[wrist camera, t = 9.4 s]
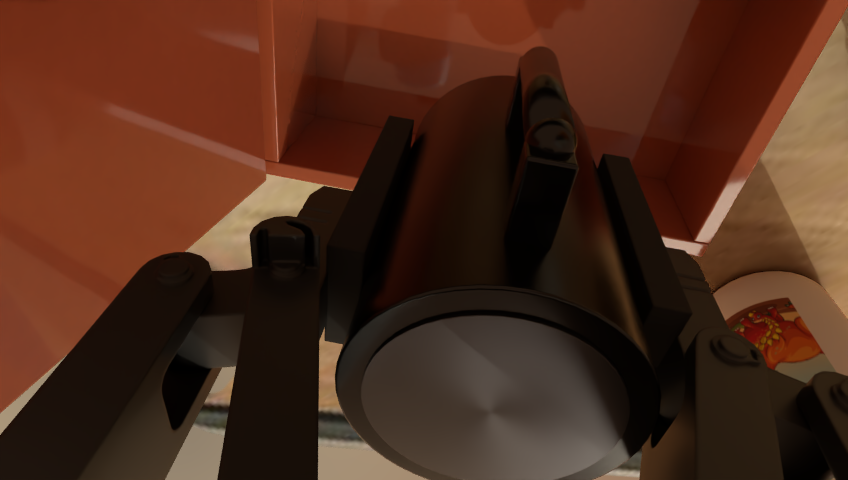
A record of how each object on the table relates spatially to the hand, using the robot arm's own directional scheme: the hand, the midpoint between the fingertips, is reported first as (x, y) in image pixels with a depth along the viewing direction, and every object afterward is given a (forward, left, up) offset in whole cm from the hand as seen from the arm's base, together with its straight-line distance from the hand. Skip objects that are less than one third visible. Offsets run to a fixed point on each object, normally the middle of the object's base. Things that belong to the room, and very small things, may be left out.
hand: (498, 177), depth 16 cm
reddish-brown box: (0, 0, -14) cm, 14 cm away
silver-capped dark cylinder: (0, 0, -1) cm, 1 cm away
